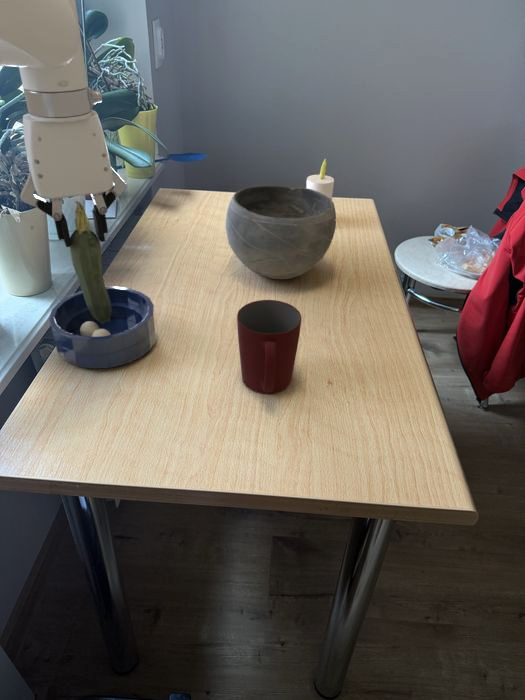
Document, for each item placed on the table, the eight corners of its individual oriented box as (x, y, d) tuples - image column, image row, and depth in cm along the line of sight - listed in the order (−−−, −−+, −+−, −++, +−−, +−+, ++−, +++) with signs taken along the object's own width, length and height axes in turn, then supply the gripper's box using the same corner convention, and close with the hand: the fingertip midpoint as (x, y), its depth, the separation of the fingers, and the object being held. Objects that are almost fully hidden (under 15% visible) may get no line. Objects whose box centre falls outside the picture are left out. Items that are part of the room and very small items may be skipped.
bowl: (342, 293, 101) (352, 218, 92) (232, 299, 98) (231, 222, 89) (316, 246, 118) (322, 178, 109) (221, 250, 115) (220, 181, 106)
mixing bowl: (65, 382, 77) (57, 349, 74) (50, 328, 89) (43, 297, 85) (168, 357, 83) (165, 325, 80) (142, 309, 94) (138, 279, 91)
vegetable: (110, 332, 83) (87, 210, 71) (83, 332, 83) (55, 209, 71) (117, 317, 87) (96, 198, 75) (91, 317, 87) (65, 198, 75)
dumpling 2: (102, 338, 80) (102, 322, 82) (87, 345, 81) (87, 330, 83) (115, 346, 83) (115, 331, 84) (100, 353, 84) (100, 338, 85)
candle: (298, 219, 130) (302, 157, 121) (320, 215, 132) (326, 153, 124) (311, 229, 125) (317, 164, 117) (334, 224, 128) (341, 161, 119)
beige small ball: (105, 331, 86) (97, 344, 84) (90, 330, 87) (81, 343, 85) (98, 317, 84) (89, 330, 82) (82, 317, 85) (73, 329, 83)
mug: (299, 413, 74) (305, 348, 67) (236, 412, 73) (235, 347, 67) (294, 360, 83) (299, 300, 77) (237, 360, 83) (237, 299, 76)
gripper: (119, 93, 71) (135, 222, 82) (-17, 101, 65) (19, 239, 76) (133, 105, 66) (148, 241, 77) (-13, 114, 60) (25, 261, 71)
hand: (84, 239), depth 76 cm, fingers closed on vegetable, 4 cm apart
